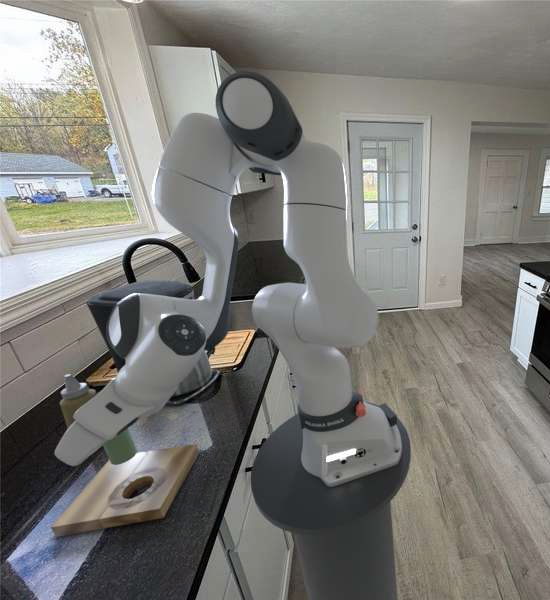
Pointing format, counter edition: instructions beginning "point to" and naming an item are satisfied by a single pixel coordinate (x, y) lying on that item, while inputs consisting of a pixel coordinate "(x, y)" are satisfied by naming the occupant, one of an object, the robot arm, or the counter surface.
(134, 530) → the counter surface
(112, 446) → the green cylinder
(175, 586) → the counter surface
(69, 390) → the squeeze bottle
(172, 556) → the counter surface
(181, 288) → the coffee maker
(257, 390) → the counter surface
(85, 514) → the wooden board with hole
